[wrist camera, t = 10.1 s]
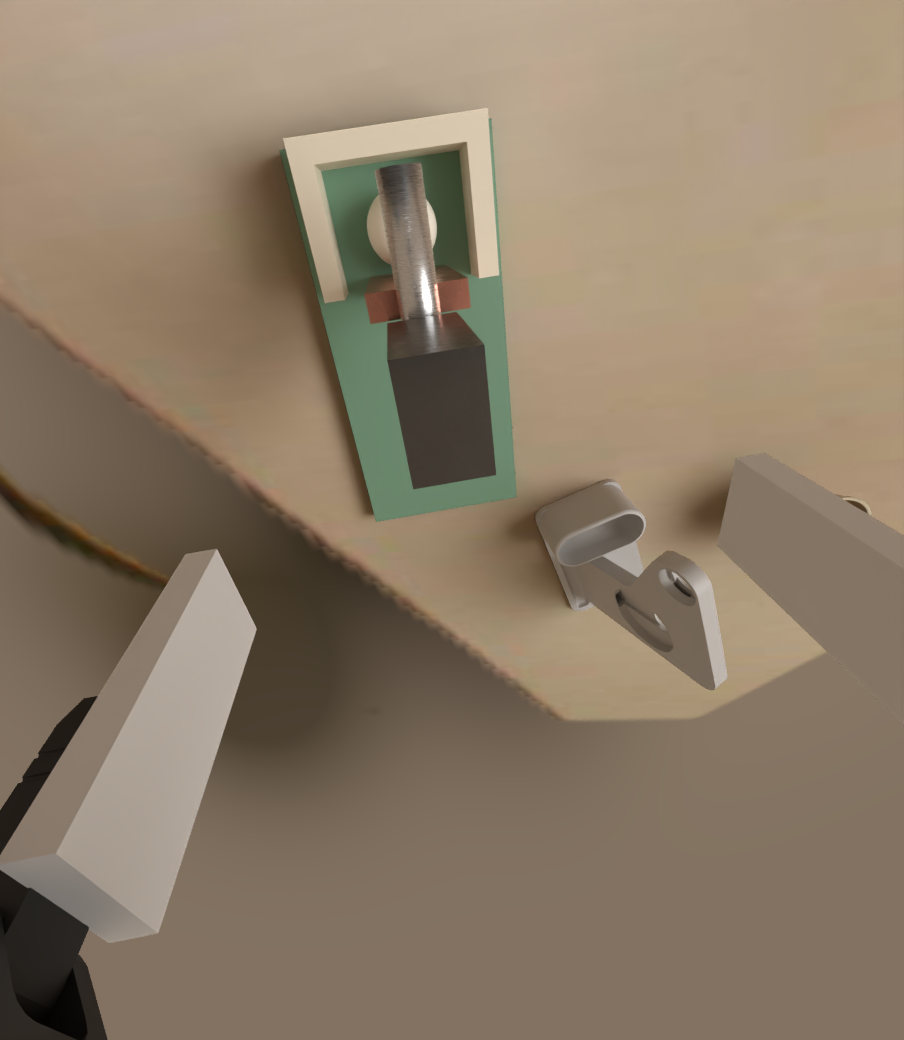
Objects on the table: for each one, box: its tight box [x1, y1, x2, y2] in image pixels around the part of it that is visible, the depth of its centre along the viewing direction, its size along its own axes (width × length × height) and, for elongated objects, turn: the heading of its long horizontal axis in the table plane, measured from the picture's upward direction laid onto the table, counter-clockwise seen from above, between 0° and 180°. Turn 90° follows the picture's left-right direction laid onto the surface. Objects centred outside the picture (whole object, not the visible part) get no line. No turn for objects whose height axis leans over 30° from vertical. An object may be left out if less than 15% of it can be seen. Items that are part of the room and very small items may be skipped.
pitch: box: [279, 108, 516, 522], centre depth 40 cm, size 31×15×6 cm, turn 8°
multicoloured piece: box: [364, 163, 496, 489], centre depth 28 cm, size 13×6×22 cm, turn 8°
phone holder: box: [535, 479, 727, 690], centre depth 49 cm, size 17×10×18 cm, turn 24°
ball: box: [367, 195, 437, 265], centre depth 34 cm, size 5×5×5 cm
